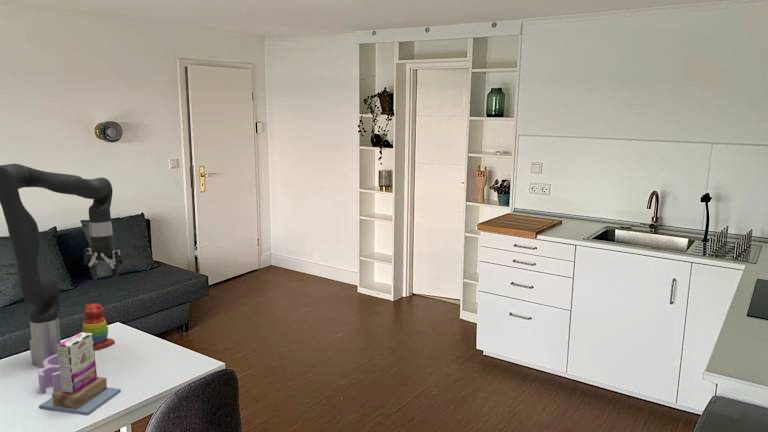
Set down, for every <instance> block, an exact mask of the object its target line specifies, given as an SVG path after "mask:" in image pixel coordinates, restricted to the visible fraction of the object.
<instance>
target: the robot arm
mask: <svg viewBox="0 0 768 432" xmlns="http://www.w3.org/2000/svg"><path fill="white" fill-rule="evenodd" d="M22 188H41V189H44V190H45V189H46V190H48V191H51V192H54V193H58V194H64V195H71V196H77V197H81V198H83V199H87V200H93V202H92V204H91V205H90V206H89V207H88V222H89V225H88V231H89V244H90V247H87V248H84V249H83V264H84V265H85V266H86V265H87V266H88V267H89V273H90V274H89V275H90V276H91V277H92V278H93V277H97V275H98V269H97V264H98V262H105V263H107V264H108V265H109V266H110V267H111V278H112V279H117V278H118V277H119V267H122V266H123V265H124V262H123V261H124V260H123V252H122V250H121V249H117V250H114V248H113V247H114V236H113V235H114V233H113V224H112V218H111V206H112V198H113V186H112V183H111V182H110V180H109V179H107V178H106V177H102V176H101V177H96V178H92V179H91V178H90V179H89V178H83V177H81V176H80V175H77V174H74V175H73V174H70V173H69V174H67V173H61V172H60V173H58V172H51V171H44V170H40V169H36V168H33V167H30V166H27V165H23V164H19V163H8V164H0V206H1V209H2V212H3V215H4V219H5V223H6V225H7V226H6V227H7V231H8V236H9V238H10V239H9V240H10V243H11V246H12V249H13V254H14V258H15V262H16V266H17V271H18V279H19V285H20V286H19V287H20V292H21V295H22V298H23V300H24V301H25V302H26V303H27V304H29V305H30V306H33V309H32V310H31V312H29V316H28V317H29V318H28V319H29V326H30V327H29V328H30V334H31V339H30V340H29V348H30V358H31V365H34V366H35V367H37V368H43V361H44V360H45V359H47V358H48V357H50V356H53V355H56V354H58V353H57V345H58V344H60V343H61V342H62V341H61V332H60V324H59V323H60V322H59V311H60V309H61V308H60V307H61V303H60V302H61V301H60V287H59V284H58V281H57V280H56V279H55V278H54V277H53V276H52V275H49V274H43V275H40V273H39V267H38V265H39V264H38V261H39V256H40V251H41V246H42V238H41V234H40V229H39V226H38V223H37V221H36V220H35V219H34V217H33V216H32V214H31V213H30V212H29V211H28V210H27V208H26V207H25V206H24V203H23V202H22V199H21V196H20V192H19V190H20V189H22Z"/></svg>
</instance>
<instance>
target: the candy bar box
mask: <svg viewBox="0 0 768 432" xmlns="http://www.w3.org/2000/svg"><path fill="white" fill-rule="evenodd" d="M57 353H58V362H59V371H60V379H61V388H62V392H65V393H76V392H77V391H79V390H80V389H82V388H83V387H85V386H87V385H88V384H90V383H91V382H93V381H94V380H96V379H97V377H98V375H97V366H96V365H97V364H96V355H95V350H94V343H93V333H84V332H82V331H80V332H78V333H77V334H75V335H72V336H70V337H69V338H67V339H65V340H63V341H61V343H60V344H58V345H57Z"/></svg>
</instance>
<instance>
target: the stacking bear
mask: <svg viewBox="0 0 768 432" xmlns="http://www.w3.org/2000/svg"><path fill="white" fill-rule="evenodd" d="M84 307H85V309H84V315H85V317H86V318H84V321H83V323H82V328H81V332H84V333H93V343H94V351H98V350H102V349H105V348H108V347H111V346H113V345H115V343H116V342H115V339H113V338H110V337H108V335H109V327H108V323H107V320H106V319H105V317H104V316H103V314H104V312H105V311H104V310H105V309H104V307H103V306H102V304H100V303H86V304H85V306H84Z"/></svg>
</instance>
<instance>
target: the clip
mask: <svg viewBox="0 0 768 432" xmlns="http://www.w3.org/2000/svg"><path fill="white" fill-rule="evenodd" d="M37 378H38V379H37V380H38V388H39V393H40V394H42V395H45V394H47V388H49V387H52V389H53V393H55V392H56V391H58V390H60V389H61V379H60V371H59V362H58V354H56V355H53V356H50V357H48V358H47V359H45V360H44V361H43V367H42V368H41V369H39V370H38V371H37Z"/></svg>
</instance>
